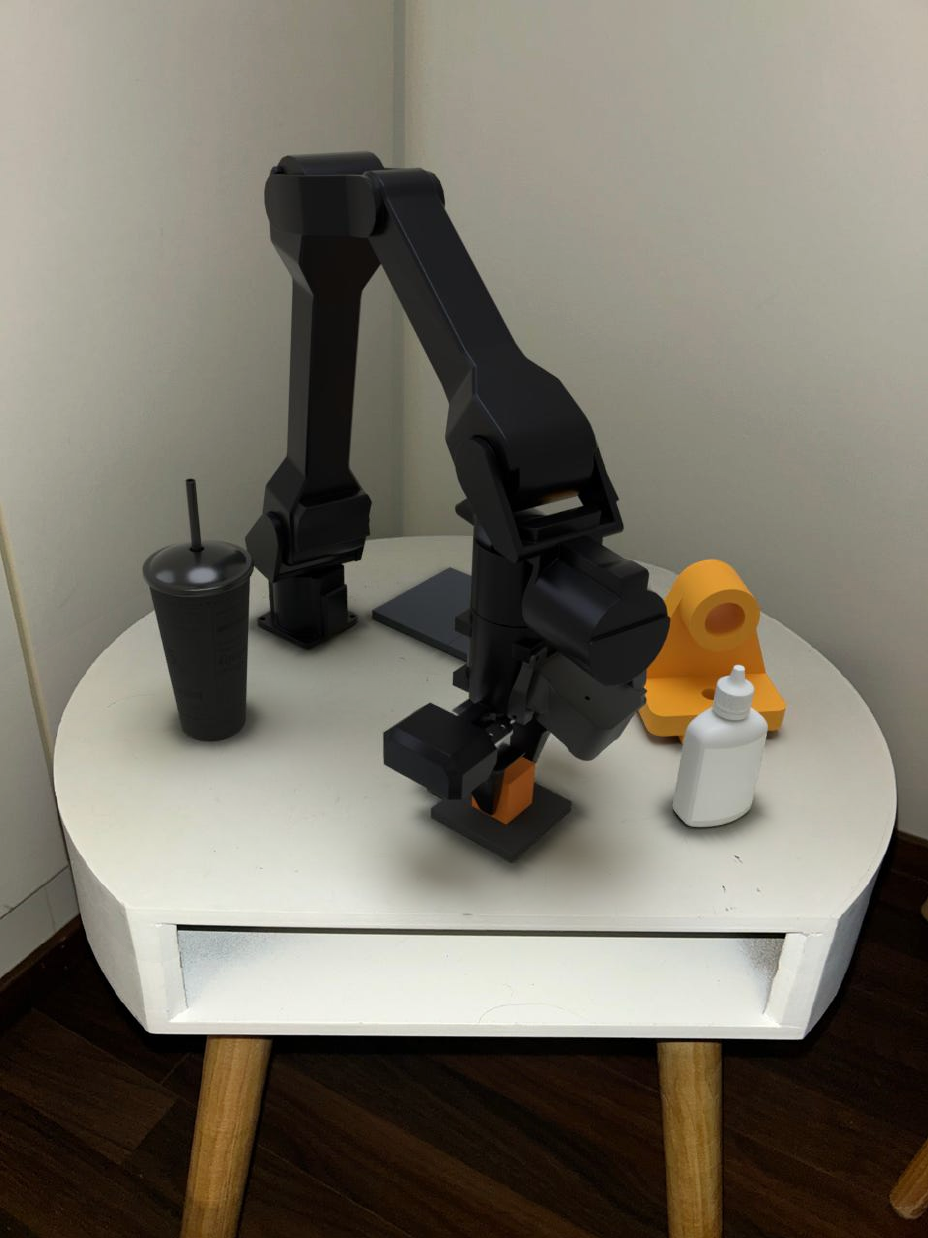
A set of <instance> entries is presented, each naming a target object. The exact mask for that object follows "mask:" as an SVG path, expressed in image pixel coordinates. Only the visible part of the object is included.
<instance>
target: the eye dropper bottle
mask: <svg viewBox="0 0 928 1238" xmlns="http://www.w3.org/2000/svg"><path fill="white" fill-rule="evenodd" d="M753 694H754V686H753V685H752V683H751V682H749V681H748V680H746V679H745V668H744V667H743V666H741V665H735V666H734V668H733V670H732V672H731V674H730V676H725V677H722V678H720V679H719V680H718V682H717V685H716V691H715V696H714V701H713V707H711V708H709V709H707V710H705V711H704V712H702V713H701V714H699V715H698V716H697V717H696V718H694V719H693V720H692V721H691V722H690V723H689V725H688V727H687V730H686V733H685V738H684V743H683V744H682V749H681V755H680V759H679V765H678V771H677V777H676V782H675V787H674V794H673V800H672V809H673V811H674V812H675V814H676V815H678V817H679V819H681V820H682V822H683V823H684V824H686V825H687V826H689V827H695V828H708V827H717V826H721V825H725V824H729V823H731V822H734V821H736V820H738V819H740V818H741V817H743V816H744V815H745V814H747V813H748V812H749V811H750V809H751V807H752V804H753V801H754V796H755V792H756V787H757V782H758V778H759V773H760V769H761V764H762V760H763V755H764V750H765V746H766V740H767V734H768V731H767V730H768V725H767V722H766V720H765V719H764V718H763V717H762V716H761V715H760V714H759V713H758V712H757V711H756V710H754V709H753V708H751V704H752V699H753Z"/></svg>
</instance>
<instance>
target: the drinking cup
mask: <svg viewBox="0 0 928 1238" xmlns="http://www.w3.org/2000/svg"><path fill="white" fill-rule="evenodd" d="M184 484H185V492H186V503H187V514H188V522H189V532H190V533H189V534H190V540H185V541H181V542H177V543H176V542H175V543H172V544H169V545H166V546H164V547H161V548H159V549H158V550H156V551H154V552H153V553H151V554H150V555H149V556H147V558H146V559H145V561H144V562H143V564H142V566H141V572H142V578H143V580H144V582H145V583H146V584H147V586H148V587H149V591H150V596H151V600H152V601H151V602H152V605H153V609H154V614H155V618H156V622H157V625H158V627H157V628H158V631H159V635H160V639H161V644H162V648H163V651H164V652H163V653H164V657H165V662H166V666H167V670H168V674H169V679H170V683H171V687H172V692H173V695H174V700H175V704H176V708H177V709H176V710H177V713H178V717H179V722H180V726H181V729H182V731H183V732H184V734H186V735H187V736H189V737H190V738H192V739H195V740H200V741H207V742H209V741H212V742H213V741H220V740H225V739H227V738H230V737H232V736H234V735H236V734H237V733H239V732H240V731H241V730H242V729H243V728H244V726H245V724H246V720H247V693H248V691H247V689H248V661H249V660H248V657H249V656H248V655H249V626H250V624H249V623H250V597H251V595H250V593H251V590H250V589H251V577H252V575H253V573H254V570H255V567H254V561H253V558H252V556H251V554H250V553H249V552H248V551H247V549H245V548H244V547H242V546H240V545H239V544H235V543H232V542H229V541H225V540H217V539H202V536H201V535H202V534H201V524H200V523H201V522H200V513H199V504H198V503H199V502H198V493H197V492H198V491H197V483H196V478H191V477H189V478H187V479H185V480H184Z"/></svg>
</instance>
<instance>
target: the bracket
mask: <svg viewBox="0 0 928 1238" xmlns="http://www.w3.org/2000/svg"><path fill="white" fill-rule="evenodd" d="M663 600H664V602H665V604H666V606H667V612H668V616H669V617H670V628H669V632H668V635H667V639H666V641H665V643H664V645H663V647H662V650H661V651H660V653H659V654H658V656H657V657H656V659H655V660H654V661H653V662H652V664H651V665H650V666H649V667H648V668H647V679H646V684H645V686H644V688H645V689H646V690H647V693H646V694H645V696H646V699H647V702H646V704H645V705H644V706H643V707H641V708H640V709H639V710H638V711H637V712H638V713H639V715H640V717H641V720H642V722H643V725H644V726H645V729H646V730H647V732H648V733H650V734H651V735H653V736H656V737H678V738H679V741H680V743H681V745H683V743H684V738H685V733H686V730H687V727H688V725H689V723H690V722H691V721H692V720H693V719H694V718H696V717H697V716H698V715H699V714H701V713H702V712H704V711H705V710H707V709H709V708H711V707H713V701H714V696H715V691H716V685H717V682H718V680H719V679H720V678H722V677H725V676H730V674H731V672H732V670H733V668H734V666H735V665H741V666H743V667H744V668H745V679H746V680H748V681H749V682H751V683H752V685H753V686H754V694H753V699H752V704H751V708H753V709H754V710H756V711H757V712H758V713H759V714H760V715H761V716H762V717H763V718H764V719H765V720H766V722H767V725H768V730H767V732H771V731H774V732H775V731H778V730H780V729H781V728H782V727H783V722H784V717H785V714H786V709H787V702H786V700H784V697H782V695H781V694H780V692H779V691H778V689H777V687H776V686H775V685H774V683H773V681H772V680H771V678H770V677H769V675H768V674H767V670H766V666H765V661H764V658H763V653H762V649H761V644H760V640H759V635H758V630H757V628H758V627H759V626H758V625H759V624H760V620H761V610H760V609H761V608H760V605H759V602H758V601H757V600H756V598H755V597H754V596H753V594H752V593H751V591H750V590H749V588H748V587H747V586H746V584H745V583H744V581H743V580H742V578H741V577H740V576H739V574H738V573H737V572H736V570H735V569H734V567H732V566H731V565H730V564H729V563H727V562H725V561H723V560H720V559H715V558H713V559H710V558H709V559H703V560H700V561H696V562H694V563H692V564H690V565H689V566H687V567H685V569H683V570H682V572H680V574H678V576H677V577H676V579H675V580H674V582H673V584H672V586H671V587H670V589H669V591H668V593H667V594H666V597H665V598H664V599H663Z"/></svg>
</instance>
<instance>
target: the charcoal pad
mask: <svg viewBox="0 0 928 1238" xmlns="http://www.w3.org/2000/svg"><path fill="white" fill-rule="evenodd" d="M470 592H471V574H468V573H465V572H463V571H460V570H458V569H455V568H453V567H451V566H449V567H447V568H446V569H444V570H442V571H441V572H439V573H437V574H435V575H433V576H431V577H430V578H428V579H426V580H424V581H422V582H421V583H419V584H417V585H415V586H412V588H410V589H408V590H406V591H404V592H402V593H401V594H399V595H397V596H395V597H393V598H392V599H390V600H388V601H385V602H384V603H383V604H381V605H379V606H377V607H376V608H373V609H372V610H371V618H372V619H374V620H376V621H378V622H381V623H383V624H385V625H387V626H390V627H392V628H393V629H395V630H397V631H400V632H401V633H404V634H406V635H408V636H410V637H412V638H415V639H416V640H420V641H422V642H423V643H426V644H428V645H430V646H432V647H434V648H437V650H441V651H442V652H444V653H448V654H449V655H452V656H454V657H455V658H458V659H460V660H463V661H465V662H467V654H468V636H465V635H463V634H461V633H459V632H456V631H455V617H456V616H458V615H459V614H461V613H463V612H464V611H466V610H467V609H469V608H470Z"/></svg>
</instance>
